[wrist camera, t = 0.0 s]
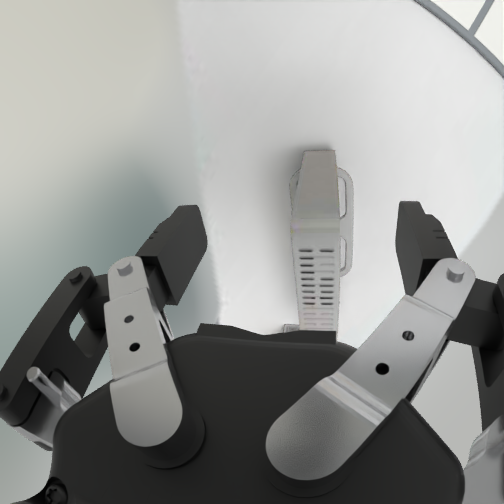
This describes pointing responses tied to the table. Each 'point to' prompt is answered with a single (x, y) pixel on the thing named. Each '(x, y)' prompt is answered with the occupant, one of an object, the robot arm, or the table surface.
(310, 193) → the network device
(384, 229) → the table surface
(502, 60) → the board
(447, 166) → the table surface
